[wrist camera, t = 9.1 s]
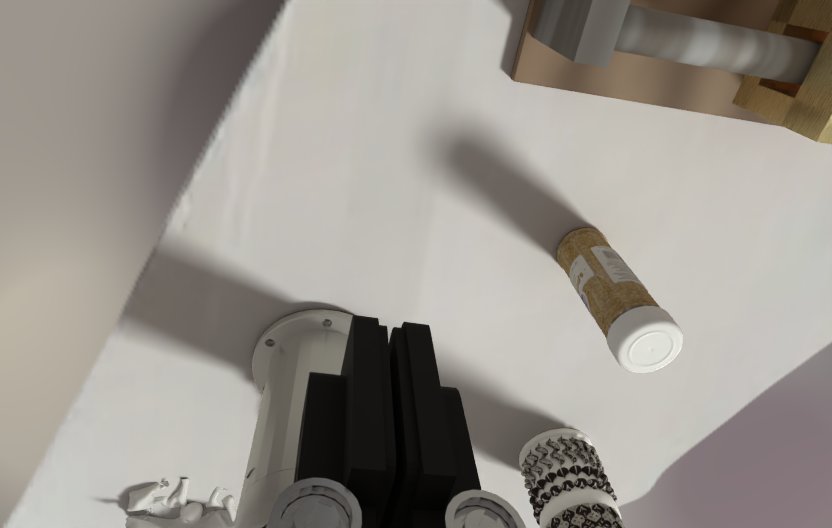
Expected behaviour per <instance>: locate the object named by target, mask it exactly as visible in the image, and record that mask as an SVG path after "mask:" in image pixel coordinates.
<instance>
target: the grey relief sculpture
mask: <svg viewBox="0 0 832 528" xmlns="http://www.w3.org/2000/svg"><path fill="white" fill-rule="evenodd" d="M181 481H182V485H181V487H180V490H179V491H177V492H176V493H175V494H174V495H173V496H172V497H171V498H170V499H168V498H167V497H166V496H164V497H154V496H153V495H152V494H154V493H155V492H156V491H159V490H162V489H164V488H165V487H166V486H167V487H168V486H169V484H167V482H168V481H162V482H161V484H163V485H165V486H160V484H159V483H157V482H156V483H155V484H153V485H151V486H148V487H145V488H142V489H139V490H135V491H130V493H129V498H130V499H129V500H130V501H129V506H128V509H127V511H138V510H144V509H147V508H149V507H152V506H154V505H156V504H158V503H160V502H161V504H162V505H163V506H166V507H171V508H178V507H180V506H181V510H180V513H179V514H180V517H178V518H176V519H164V518H157V517H152V516H148V514H149V513H153V509H152V508H150V510H151V512H146V514H145V515H140V516H128V517H127V518H126V520H127V522H126V524H125V525H126V528H234V526H235V519H236V510H235V506H234V502H233V497H231V496H227V497H225V498H224V499H223V500H222V502H223V503H224V505H225V506H226V508H227V510H216V511H213V510H212V511H210V512H208V513H206V516H203V517H201V516H202V512H203V507H202V505H201V504H200V503H198V502H193V503H189V504H188V505H187V498H186V493H187V489H188V484H189V479H188V478H187V479H181ZM224 491H226V489H221V488H220V487H217V488H216V489H215V490H214V492H213V494H212V496H211V498H210V501H209V502H208V503H207V504H206V505H205V507H206V508H209V507H212V506H215V507H218V506H220V505H219V504H218V503H217V501H216V497H217V495H218V494H219V493H220V492H224Z"/></svg>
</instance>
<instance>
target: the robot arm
mask: <svg viewBox="0 0 832 528" xmlns="http://www.w3.org/2000/svg"><path fill="white" fill-rule="evenodd" d="M252 372H253V376H254V380H255V382H256V384H257V386H258V388H259V389H260V391H261V392H262V393H263V396H262V401H261V405H260V410H259V414H258V419H257V424H256V428H255V433H254V437H253V442H252V447H251V451H250V456H249V460H248V465H247V470H246V474H245V479H244V483H243V488H242V492H241V497H240V501H239V505H238V509H237V514H236V519H235V526H234V528H526V526H525V524H524V522H523V520H522V519H521V517H520V515H519V514H518V512H517V511H516V510H515V509H514V508H513V507H512V506H511V505H510V504H509V503H508V502H507V501H505V500H504V499H502V498H501V497H499V496H498V495H496V494H493V493H490V492H487V491H484V490H481V486H480V481H479V477H478V473H477V468H476V464H475V459H474V455H473V450H472V446H471V441H470V437H469V432H468V428H467V424H466V419H465V415H464V410H463V406H462V401H461V397H460V394H459V391H458V390H457V388H451V387H442V386H440V381H439V375H438V370H437V364H436V359H435V353H434V348H433V342H432V337H431V332H430V327H429V325H424V324H417V323H409V322H404V323H403V324H402V327H401V328H397V327H394V328H393V330H392V333H391V337H390V341H389V345H388V332H387V326H382V325H379V320H378V318H372V317H364V316H357V315H353V316H352V315H350V314H346V313H343V312H340V311H333V310H325V309H322V310H307V311H302V312H297V313H294V314H291V315H288V316H286V317H284V318H282V319H280V320H279V321H277V322H275V323H274V324H273V325H271V326H270V327H269V328H268V329H267V330H266V331H265V332H264V333H263V335H262V336H261V337H260V338H259V340H258V343H257V345H256V347H255V350H254V354H253V358H252Z"/></svg>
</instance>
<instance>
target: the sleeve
mask: <svg viewBox="0 0 832 528" xmlns="http://www.w3.org/2000/svg"><path fill="white" fill-rule="evenodd" d="M765 32H769V33H774V34H779V35H784V36H789V37H794V38H799V39H804V40H809V41H814V42H820V43H823V45H822V47H821V49H820V51H819V53H818V54H817V56H816V58H815V60H814V62H813V64H812V66H811V68H810V70H809V72H808V74H807V76H806V78H805V79H804V81H803V83H802V85H798V84H793V83H788V82H782V81H777V80H771V79H766V78H760V77H755V76H750V75H745V76H744V78H743V80H742V82H741V84H740V87H739V89H738V91H737V93H736V95H735V97H734V99H733V102H732V103H733V104H735V105H737V106H739V107H741V108H744V109H746V110H748V111H750V112H752V113H755V114H757V115H759V116H761V117H763V118H766V119H768V120H770V121H772V122H774V123H777V124H779V125H781V126H783V127H785V128H788V129H790V130H792V131H794V132H796V133H799V134H801V135H803V136H805V137H807V138H810V139H812V140H814V141H816V142H821V143H828V144H832V0H780V1H779V3H778V5H777V7H776V9H775V11H774V13H773V16H772V18H771V20H770V22H769V24H768V26H767V28H766V31H765Z"/></svg>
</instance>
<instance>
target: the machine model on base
mask: <svg viewBox="0 0 832 528" xmlns="http://www.w3.org/2000/svg"><path fill="white" fill-rule="evenodd" d="M779 1H780V0H530V4H529V8H528V12H527V16H526V20H525V24H524V28H523V31H522V35H521V39H520V43H519V47H518V51H517V55H516V59H515V63H514V67H513V71H512V75H511V79H512V80H513V81H515V82H521V83H527V84H533V85H539V86H545V87H551V88H557V89H563V90H569V91H575V92H581V93H587V94H592V95H598V96H604V97H610V98H616V99H622V100H628V101H634V102H640V103H646V104H652V105H658V106H664V107H670V108H675V109H681V110H687V111H693V112H699V113H705V114H711V115H717V116H723V117H729V118H735V119H741V120H747V121H753V122H759V123H764V124H770V125H776V126H781V125H779V124H777V123H774V122H772V121H770V120H768V119H766V118H763V117H761V116H759V115H757V114H755V113H752V112H750V111H748V110H746V109H744V108H741V107H739V106H737V105H735V104H733V103H732V102H733V99H734V97H735V95H736V93H737V91H738V89H739V87H740V84H741V82H742V80H743V78H744V76H745V75H750V76H755V77H760V78H766V79H771V80H777V81H782V82H788V83H793V84H798V85H802V83H803V81H804V79H805V78H806V76H807V74H808V72H809V70H810V68H811V66H812V64H813V62H814V60H815V58H816V56H817V54H818V53H819V51H820V49H821V47H822V45H823V43H820V42H814V41H809V40H804V39H799V38H794V37H789V36H784V35H779V34H774V33H769V32H765V31H766V28H767V26H768V24H769V22H770V20H771V18H772V16H773V13H774V11H775V9H776V7H777V5H778V3H779ZM782 127H783V126H782Z"/></svg>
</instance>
